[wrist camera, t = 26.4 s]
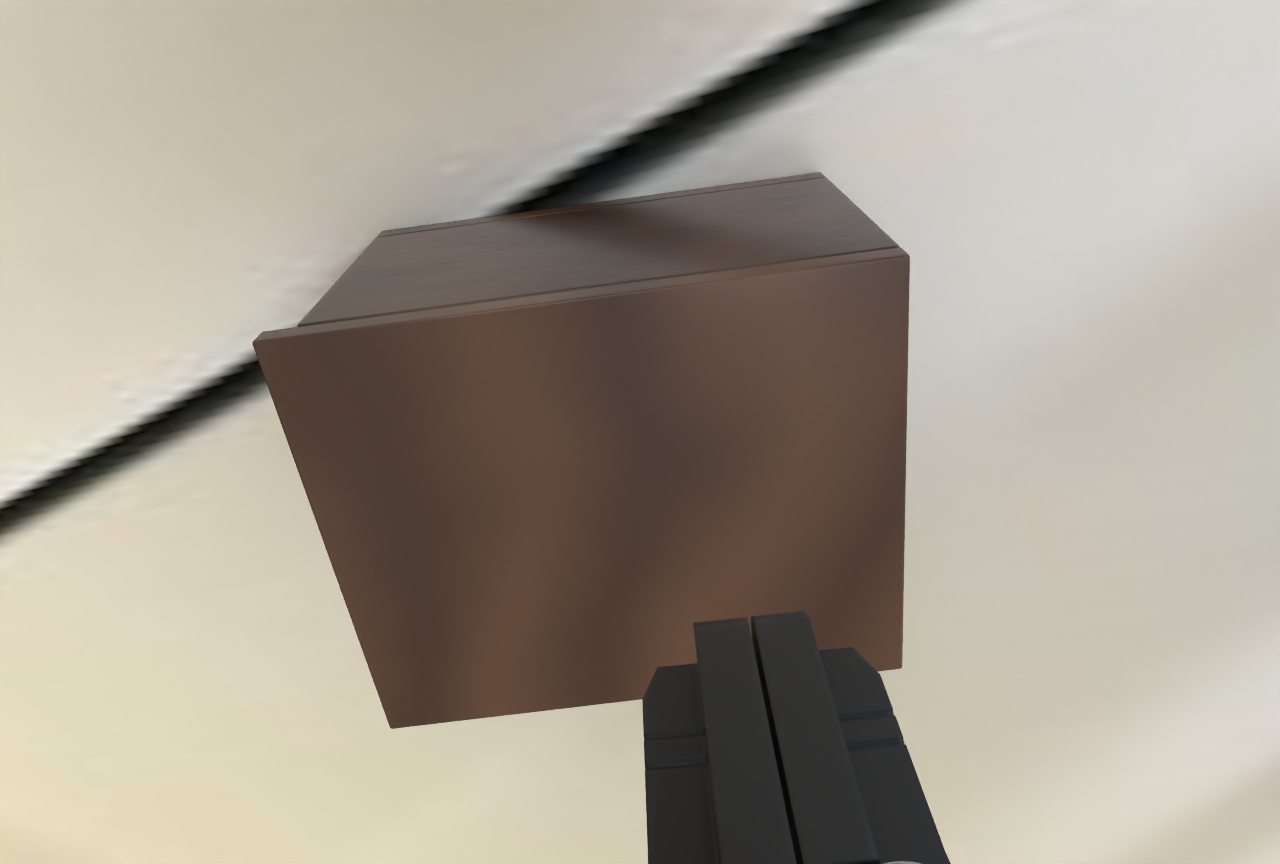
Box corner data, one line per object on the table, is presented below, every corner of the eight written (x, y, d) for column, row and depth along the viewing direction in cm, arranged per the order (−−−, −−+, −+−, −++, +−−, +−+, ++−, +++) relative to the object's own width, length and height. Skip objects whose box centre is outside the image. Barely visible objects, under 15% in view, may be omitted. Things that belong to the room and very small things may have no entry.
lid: (394, 712, 27) (390, 729, 26) (261, 330, 21) (250, 341, 20) (895, 653, 26) (902, 669, 26) (901, 246, 20) (910, 254, 20)
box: (464, 542, 35) (421, 706, 27) (381, 230, 29) (295, 325, 21) (830, 497, 34) (895, 652, 26) (821, 171, 28) (901, 245, 21)
